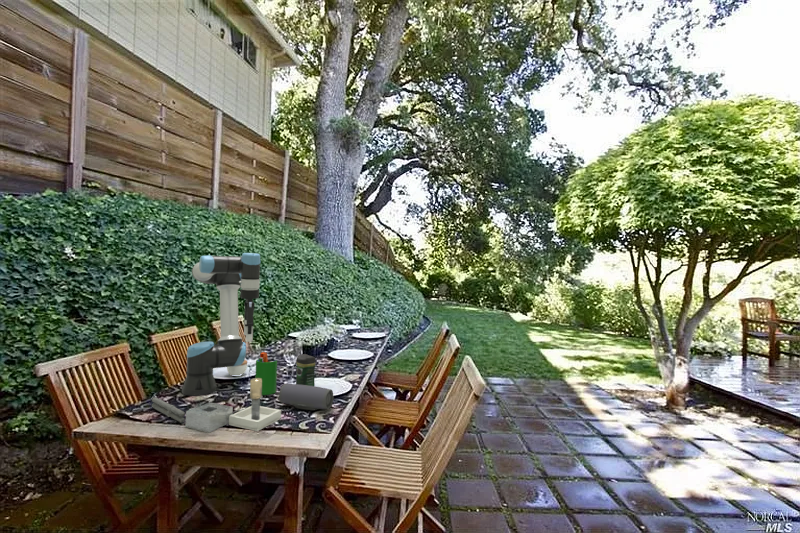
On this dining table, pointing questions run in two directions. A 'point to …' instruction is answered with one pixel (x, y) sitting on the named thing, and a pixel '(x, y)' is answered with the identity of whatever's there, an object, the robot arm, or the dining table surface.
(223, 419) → the block
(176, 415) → the metal rod assembly
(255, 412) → the tan knobbed cylinder
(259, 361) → the green cylinder
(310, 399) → the bluetooth speaker
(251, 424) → the tray
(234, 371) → the lidded jar
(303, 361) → the coffee jar
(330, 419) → the dining table surface
